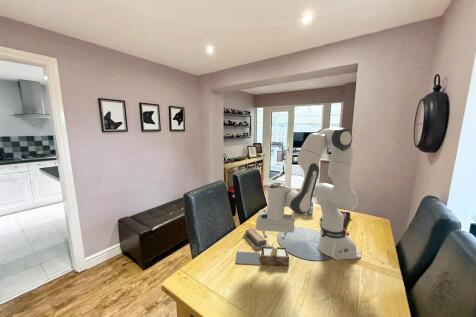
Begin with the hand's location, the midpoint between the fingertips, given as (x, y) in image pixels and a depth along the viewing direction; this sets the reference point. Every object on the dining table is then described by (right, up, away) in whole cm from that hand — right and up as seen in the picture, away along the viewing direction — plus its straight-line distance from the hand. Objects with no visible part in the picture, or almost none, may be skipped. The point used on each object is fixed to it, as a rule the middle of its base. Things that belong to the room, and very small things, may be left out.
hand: (274, 238), depth 106 cm
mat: (-14, -13, +3) cm, 19 cm away
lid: (+1, -9, +1) cm, 9 cm away
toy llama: (+37, -4, +63) cm, 74 cm away
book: (+56, -7, +48) cm, 74 cm away
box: (+1, -13, +2) cm, 13 cm away
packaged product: (-8, -11, +21) cm, 24 cm away
